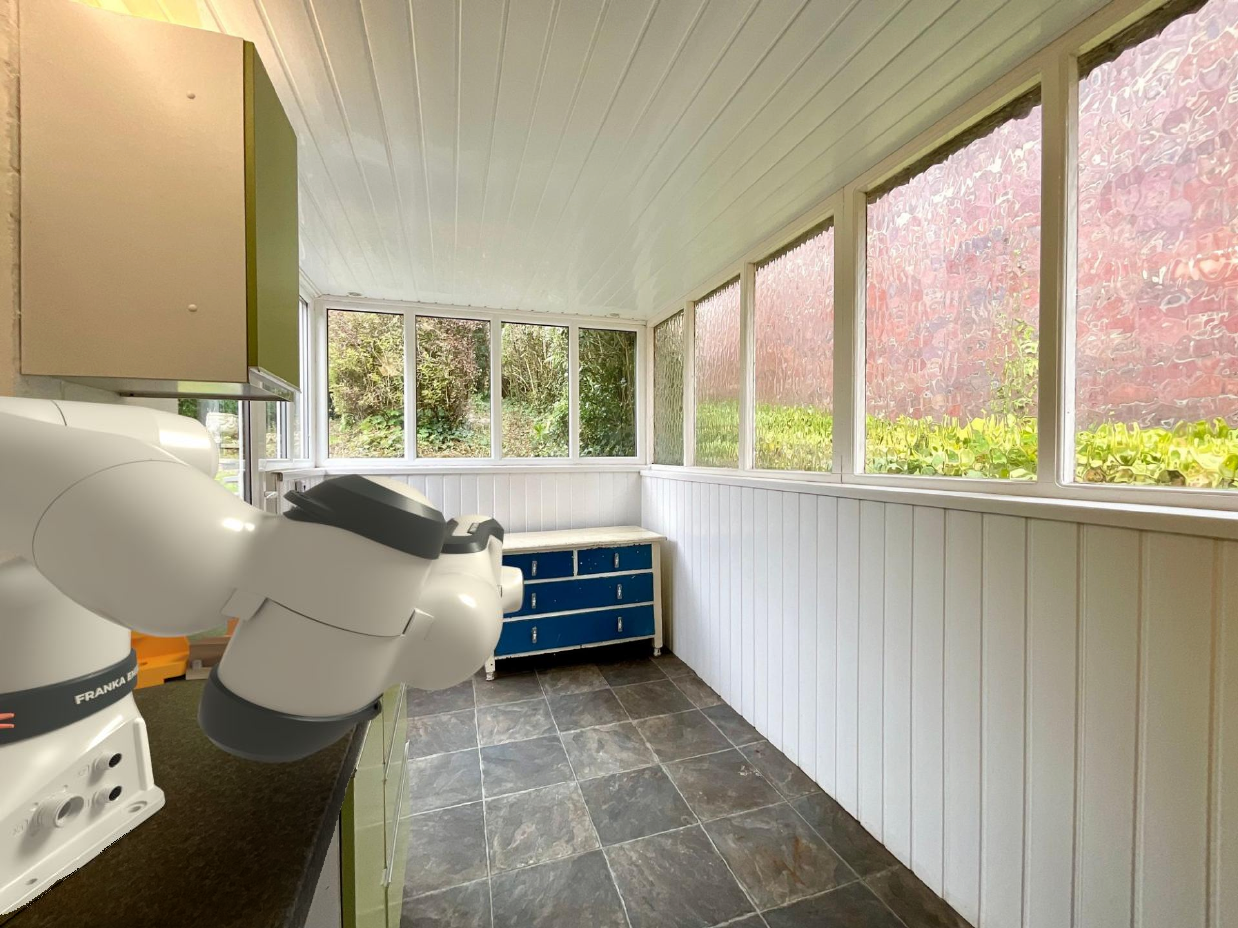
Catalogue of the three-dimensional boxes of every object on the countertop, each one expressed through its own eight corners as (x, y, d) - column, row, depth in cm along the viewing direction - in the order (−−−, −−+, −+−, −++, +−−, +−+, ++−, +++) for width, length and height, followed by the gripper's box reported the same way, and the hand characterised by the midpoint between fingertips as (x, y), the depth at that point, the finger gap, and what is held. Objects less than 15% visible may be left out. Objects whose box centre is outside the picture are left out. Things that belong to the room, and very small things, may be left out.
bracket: (82, 699, 66) (82, 613, 66) (97, 679, 72) (97, 599, 72) (186, 679, 73) (187, 600, 72) (192, 662, 78) (192, 589, 78)
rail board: (252, 676, 74) (252, 643, 74) (185, 679, 72) (185, 646, 72) (330, 617, 100) (330, 593, 100) (282, 619, 99) (282, 594, 99)
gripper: (413, 630, 74) (315, 634, 72) (441, 593, 94) (366, 595, 92) (413, 589, 74) (316, 592, 72) (442, 560, 94) (366, 562, 92)
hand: (344, 593), depth 82 cm, fingers open, 8 cm apart
